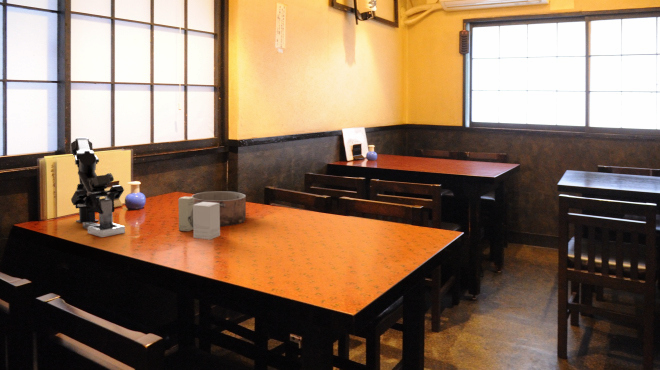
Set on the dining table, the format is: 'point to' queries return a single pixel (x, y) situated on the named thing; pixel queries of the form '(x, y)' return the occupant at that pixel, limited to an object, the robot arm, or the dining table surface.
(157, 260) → the dining table surface
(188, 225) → the box
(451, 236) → the dining table surface
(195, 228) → the supplement box
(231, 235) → the dining table surface
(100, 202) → the dark grey metal cylinder
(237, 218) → the cooking pot
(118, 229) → the square frame with handle
